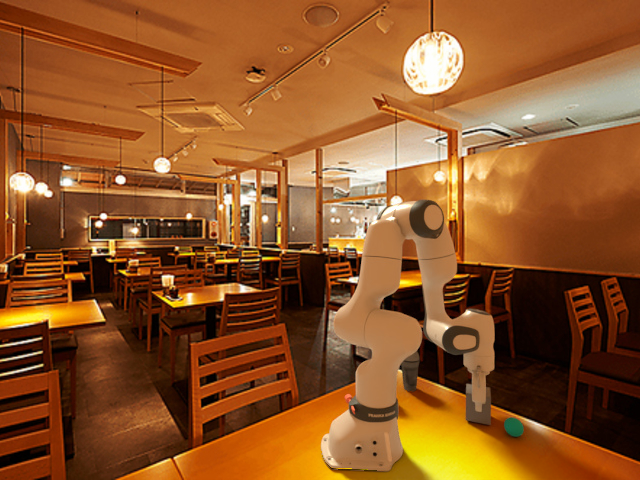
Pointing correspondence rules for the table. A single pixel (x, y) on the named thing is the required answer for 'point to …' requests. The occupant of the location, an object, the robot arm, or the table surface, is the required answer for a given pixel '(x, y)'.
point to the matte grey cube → (474, 415)
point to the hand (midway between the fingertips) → (478, 403)
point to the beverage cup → (410, 371)
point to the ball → (513, 427)
